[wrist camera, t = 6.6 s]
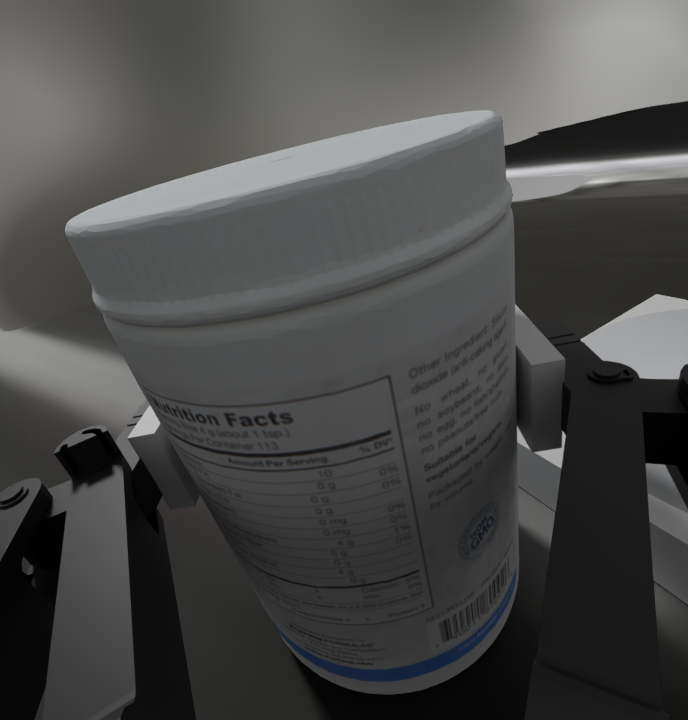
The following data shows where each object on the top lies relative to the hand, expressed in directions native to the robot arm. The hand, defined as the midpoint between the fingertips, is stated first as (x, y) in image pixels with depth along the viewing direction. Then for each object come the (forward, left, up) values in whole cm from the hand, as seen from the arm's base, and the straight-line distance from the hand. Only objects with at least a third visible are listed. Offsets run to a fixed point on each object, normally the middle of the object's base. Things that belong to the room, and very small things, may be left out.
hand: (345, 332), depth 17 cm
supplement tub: (+4, -2, -8) cm, 9 cm away
